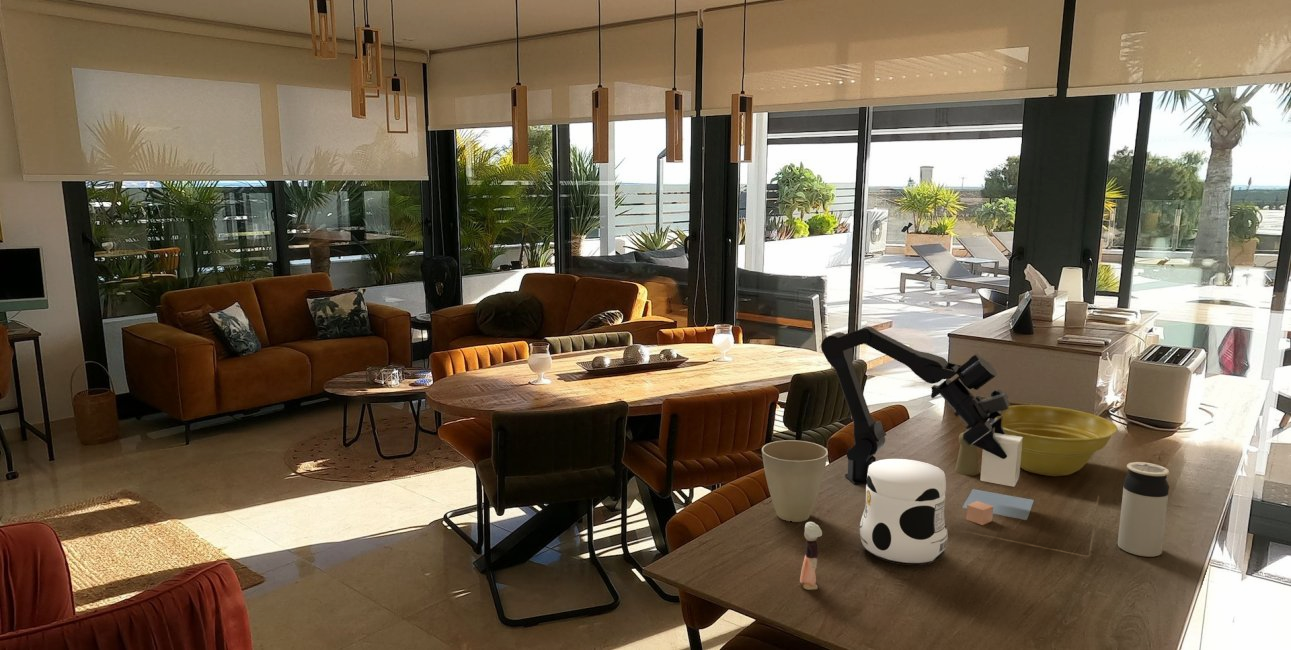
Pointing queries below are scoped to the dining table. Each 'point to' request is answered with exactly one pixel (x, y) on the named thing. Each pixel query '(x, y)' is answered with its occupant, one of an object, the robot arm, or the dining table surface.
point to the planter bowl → (1056, 437)
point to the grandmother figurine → (810, 556)
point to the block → (979, 513)
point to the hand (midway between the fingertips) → (1008, 453)
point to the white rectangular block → (1003, 461)
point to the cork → (967, 458)
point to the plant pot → (794, 476)
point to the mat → (1002, 503)
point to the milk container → (904, 512)
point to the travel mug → (1143, 509)
